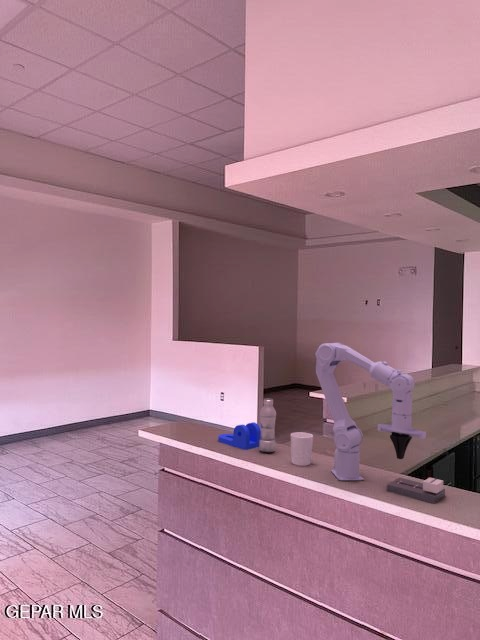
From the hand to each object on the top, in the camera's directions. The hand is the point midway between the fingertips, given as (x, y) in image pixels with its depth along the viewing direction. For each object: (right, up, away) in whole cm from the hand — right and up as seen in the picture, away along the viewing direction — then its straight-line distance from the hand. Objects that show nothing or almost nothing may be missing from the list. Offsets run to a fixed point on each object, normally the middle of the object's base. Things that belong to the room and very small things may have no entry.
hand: (400, 458), depth 150 cm
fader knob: (+7, -7, -7) cm, 12 cm away
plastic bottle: (-39, -8, +37) cm, 54 cm away
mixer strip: (+3, -10, -3) cm, 11 cm away
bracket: (-50, -8, +48) cm, 70 cm away
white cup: (-27, -9, +24) cm, 37 cm away
